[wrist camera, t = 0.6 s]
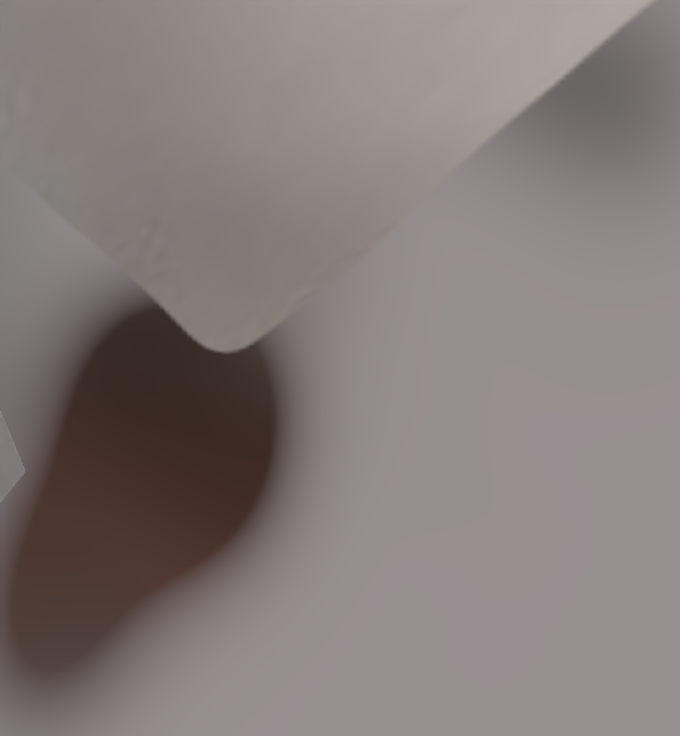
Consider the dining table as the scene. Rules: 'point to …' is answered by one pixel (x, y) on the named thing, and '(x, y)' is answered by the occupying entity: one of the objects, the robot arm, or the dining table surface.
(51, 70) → the dining table surface
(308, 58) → the dining table surface
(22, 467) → the robot arm
